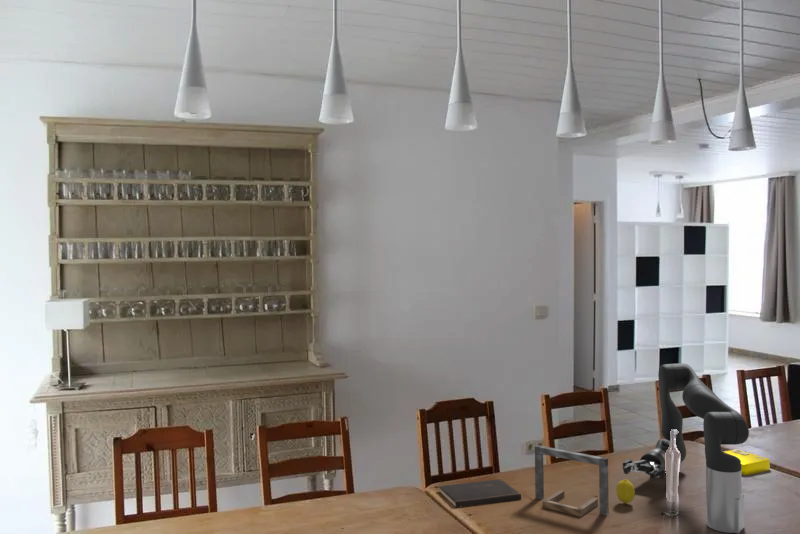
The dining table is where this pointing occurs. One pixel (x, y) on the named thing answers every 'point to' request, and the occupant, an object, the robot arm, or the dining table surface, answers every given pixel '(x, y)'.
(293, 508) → the dining table surface
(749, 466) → the yellow flat square block
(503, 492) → the hardcover book
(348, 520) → the dining table surface
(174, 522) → the dining table surface
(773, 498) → the dining table surface
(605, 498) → the keeper pocket
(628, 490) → the lemon
